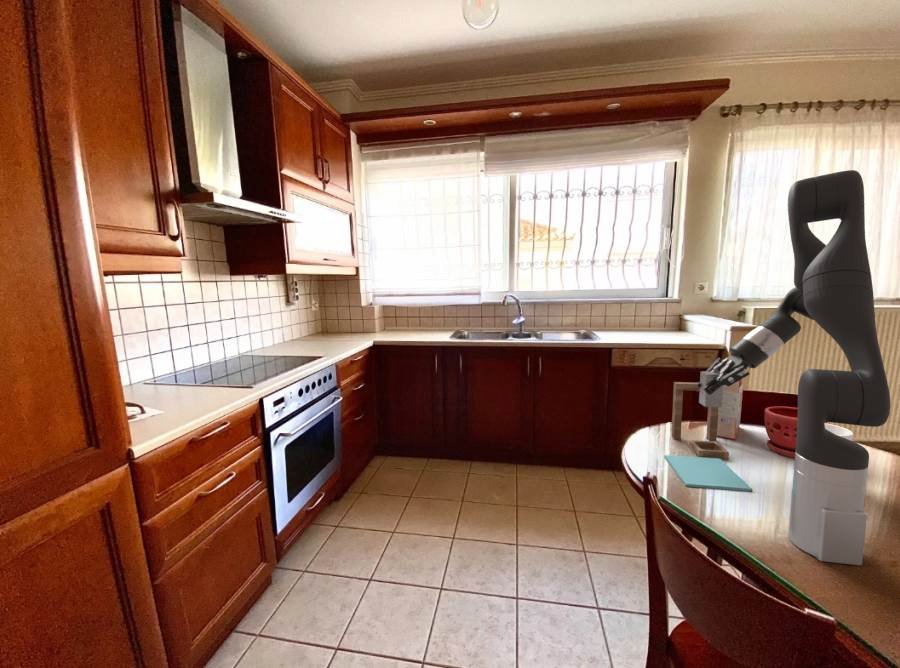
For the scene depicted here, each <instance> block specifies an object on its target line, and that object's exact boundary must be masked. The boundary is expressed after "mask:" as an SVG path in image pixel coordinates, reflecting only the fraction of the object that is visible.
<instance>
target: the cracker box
mask: <svg viewBox="0 0 900 668" xmlns="http://www.w3.org/2000/svg"><path fill="white" fill-rule="evenodd" d="M744 379H745V377H744V378H743V379H741V380H739V381H738V382H736V383H734V384H732V385H731V386H727V385H725V386H723V393H722V407H719V408H718V425H717V437H719V438H726V439H729V440H735V441H736V439H737V436H738V433H739V430H740V423H741V415H742V414H741V413H742V406H743V405H742V402H743V393H744V391H743V390H744Z"/></svg>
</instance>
